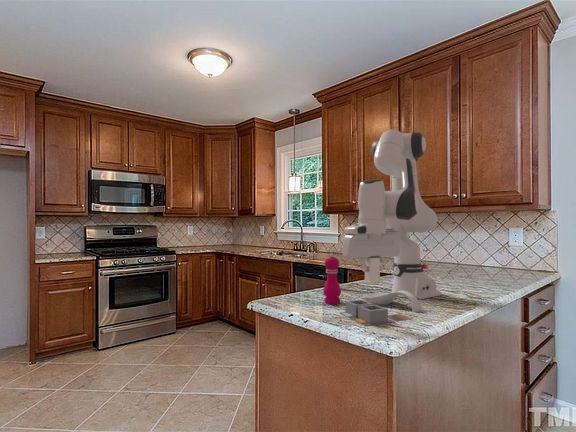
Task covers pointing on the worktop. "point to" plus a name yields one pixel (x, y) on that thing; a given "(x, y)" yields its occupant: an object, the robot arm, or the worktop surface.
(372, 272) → the plug
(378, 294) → the grey curved arch
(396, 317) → the deck
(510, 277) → the worktop surface
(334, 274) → the pepper mill
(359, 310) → the port box
